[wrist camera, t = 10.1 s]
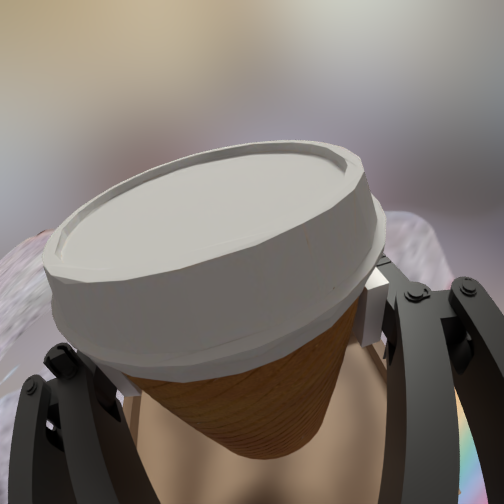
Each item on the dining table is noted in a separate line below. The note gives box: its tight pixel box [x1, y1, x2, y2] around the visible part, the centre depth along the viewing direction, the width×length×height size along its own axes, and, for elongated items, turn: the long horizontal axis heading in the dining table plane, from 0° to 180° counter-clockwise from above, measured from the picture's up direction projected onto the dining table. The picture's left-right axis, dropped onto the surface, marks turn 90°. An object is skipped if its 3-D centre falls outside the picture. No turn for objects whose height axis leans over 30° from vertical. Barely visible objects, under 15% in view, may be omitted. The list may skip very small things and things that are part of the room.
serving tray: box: [123, 331, 461, 504], centre depth 17 cm, size 24×20×2 cm
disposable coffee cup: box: [42, 140, 386, 460], centre depth 10 cm, size 10×10×12 cm
